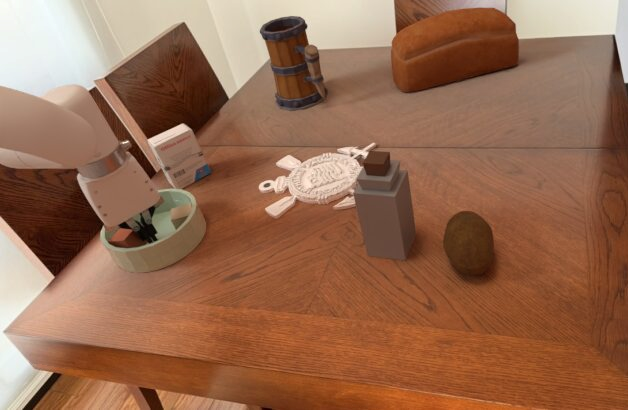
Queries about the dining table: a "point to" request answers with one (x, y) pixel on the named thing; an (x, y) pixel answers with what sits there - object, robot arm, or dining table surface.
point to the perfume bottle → (385, 207)
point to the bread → (453, 48)
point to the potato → (469, 243)
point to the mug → (293, 64)
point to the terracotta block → (126, 239)
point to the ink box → (179, 156)
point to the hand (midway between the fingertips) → (151, 239)
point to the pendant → (317, 180)
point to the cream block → (180, 214)
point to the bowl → (162, 236)
